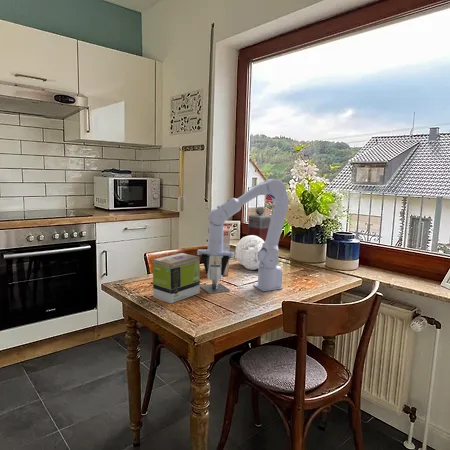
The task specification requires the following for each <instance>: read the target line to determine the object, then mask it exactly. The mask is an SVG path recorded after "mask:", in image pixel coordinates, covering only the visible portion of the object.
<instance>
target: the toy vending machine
mask: <svg viewBox="0 0 450 450" xmlns="http://www.w3.org/2000/svg"><path fill="white" fill-rule="evenodd" d="M255 211H256V214H250V215H248V220H247V221H248V227H247V228H248V229H247V236H250V235H254V236H258V237H259V238H261V239H263V241H264V242H265V240H266V237H267V233H268V229H269V225H270V221H271V217H272V215H266V214H264V211H265V208H264V207H263V206H258V207H256V210H255Z"/></svg>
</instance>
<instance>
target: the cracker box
mask: <svg viewBox="0 0 450 450" xmlns="http://www.w3.org/2000/svg"><path fill="white" fill-rule="evenodd" d="M207 228H208V229H207V249H209V226H208V227H207ZM223 229H224V234H223V250H224V251H230V243H231V241H230V239H231V230H229V229H226V228H224V227H223ZM221 258H222V256H210V260H209V265H210V264H219V265H222V261H221ZM229 262H230V260H229V261H228V263H227V265H226V268H225V272H224V275H222V277H223V276H224V277H225V276H229V269H230V267H229V264H230V263H229Z"/></svg>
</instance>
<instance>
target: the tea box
mask: <svg viewBox="0 0 450 450" xmlns="http://www.w3.org/2000/svg"><path fill="white" fill-rule="evenodd" d="M200 260H201V256H200V255H193V254H188V253H183V252H179V253H175V254H171V255H170V254H169V255H166V256H162V257H158V258H157V257H156V258H153V259H152V291H153V292H152V293H153V295H152V296H153V298H154V299H157V300H160V301H163V302H166V303H169V304H172V303H173V304H174V303H176V302H179V301H181V300H184V299H187V298H190V297H193V296H195V295H198V294H200V293H201V287H200V285H201V276H200V275H201V268H200V267H201V266H200V265H201V264H200V263H201V262H200Z"/></svg>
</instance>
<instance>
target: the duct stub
mask: <svg viewBox="0 0 450 450" xmlns="http://www.w3.org/2000/svg"><path fill="white" fill-rule="evenodd" d="M200 289H202V290H203V291H205V293H207V294H209V295H210V294H218V293H225V292H227V293H228V292H230V291H231V289H230V288H228V287H227V286H225V285H224V284H223V283H221V282H219V280H211V284H202V285H201V284H200Z"/></svg>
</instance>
